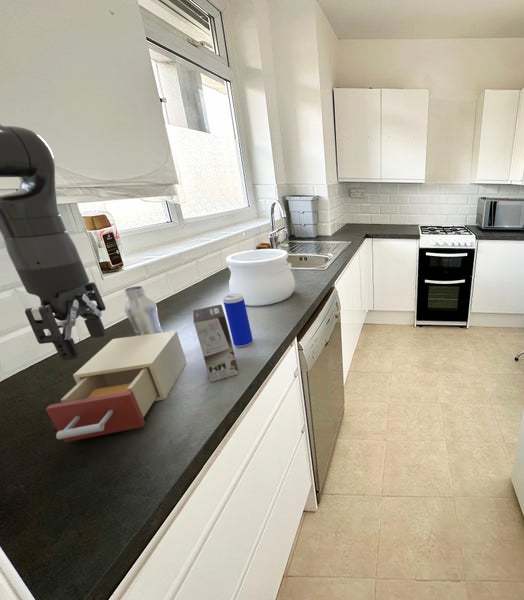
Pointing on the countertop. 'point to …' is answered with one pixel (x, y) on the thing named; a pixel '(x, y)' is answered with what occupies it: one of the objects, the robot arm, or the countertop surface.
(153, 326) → the plastic bottle
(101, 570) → the countertop surface
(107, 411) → the drawer
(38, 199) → the robot arm
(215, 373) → the coffee box
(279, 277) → the pot
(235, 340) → the beverage can
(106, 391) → the orange rectangular block
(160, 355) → the cabinet
